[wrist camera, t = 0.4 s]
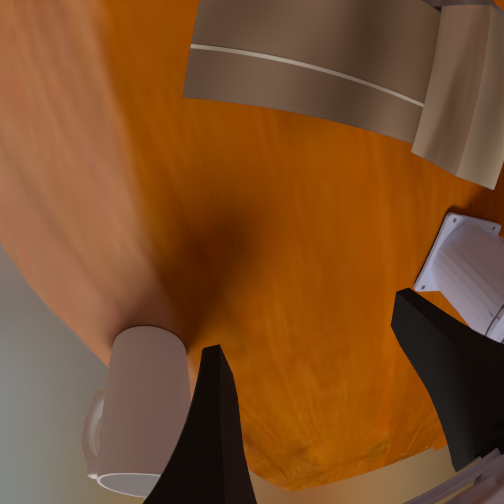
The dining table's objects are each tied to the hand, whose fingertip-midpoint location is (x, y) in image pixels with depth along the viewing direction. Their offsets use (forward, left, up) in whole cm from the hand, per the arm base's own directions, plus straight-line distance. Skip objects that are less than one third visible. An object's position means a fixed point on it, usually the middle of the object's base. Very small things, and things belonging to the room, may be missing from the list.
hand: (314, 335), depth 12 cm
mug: (+9, +13, -10) cm, 19 cm away
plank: (-3, -12, -10) cm, 16 cm away
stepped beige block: (-9, -13, -9) cm, 18 cm away
